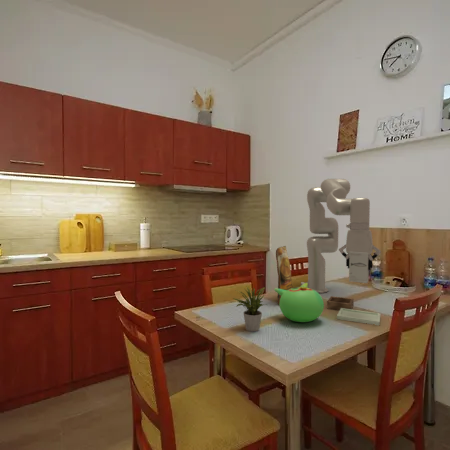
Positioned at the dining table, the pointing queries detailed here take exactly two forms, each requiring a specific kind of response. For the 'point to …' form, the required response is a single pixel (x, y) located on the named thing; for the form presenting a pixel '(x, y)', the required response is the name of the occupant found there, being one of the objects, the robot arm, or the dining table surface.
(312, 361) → the dining table surface
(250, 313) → the house plant
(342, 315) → the tray
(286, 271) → the pancake mix bag
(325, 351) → the dining table surface
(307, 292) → the round teapot
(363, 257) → the supplement box
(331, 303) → the caddy
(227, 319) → the dining table surface
